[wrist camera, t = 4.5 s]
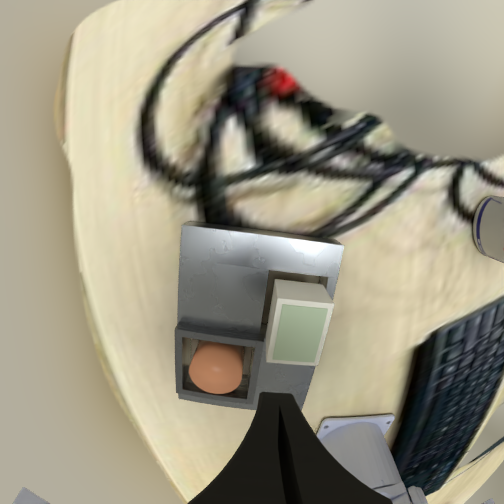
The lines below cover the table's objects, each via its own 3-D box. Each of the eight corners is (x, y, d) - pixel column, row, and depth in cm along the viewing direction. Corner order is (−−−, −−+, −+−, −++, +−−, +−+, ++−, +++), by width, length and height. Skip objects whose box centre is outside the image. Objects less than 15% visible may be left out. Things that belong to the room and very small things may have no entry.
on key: (310, 340, 18) (317, 366, 15) (265, 335, 18) (266, 363, 15) (322, 284, 17) (334, 304, 14) (274, 278, 17) (277, 298, 14)
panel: (298, 397, 22) (301, 421, 19) (184, 383, 22) (175, 406, 19) (335, 239, 19) (348, 249, 16) (189, 221, 19) (177, 227, 16)
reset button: (241, 372, 21) (239, 396, 18) (196, 365, 21) (189, 389, 18) (246, 334, 20) (244, 357, 17) (198, 327, 20) (189, 349, 17)
